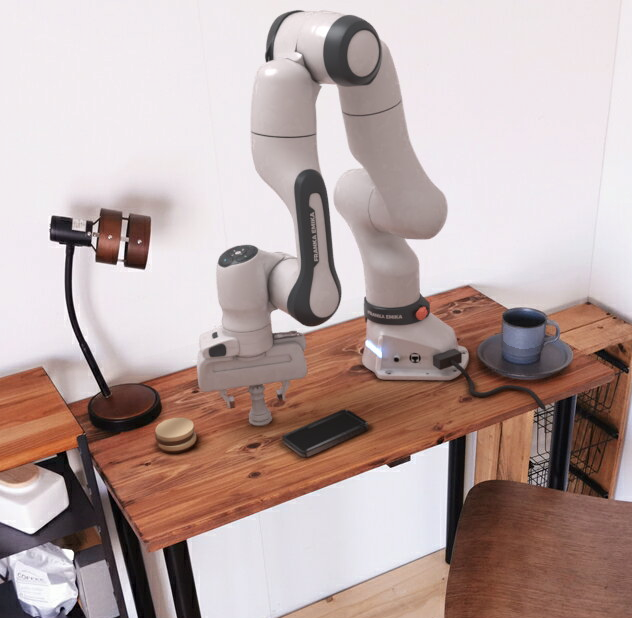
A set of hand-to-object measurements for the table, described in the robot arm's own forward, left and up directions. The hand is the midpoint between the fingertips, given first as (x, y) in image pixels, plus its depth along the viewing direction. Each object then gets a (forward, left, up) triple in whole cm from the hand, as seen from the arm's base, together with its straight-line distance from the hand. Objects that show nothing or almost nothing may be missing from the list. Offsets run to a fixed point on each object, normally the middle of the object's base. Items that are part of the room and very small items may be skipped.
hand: (256, 403), depth 171 cm
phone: (-14, +1, -4) cm, 15 cm away
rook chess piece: (0, -1, -4) cm, 4 cm away
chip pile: (+12, +10, -4) cm, 16 cm away
